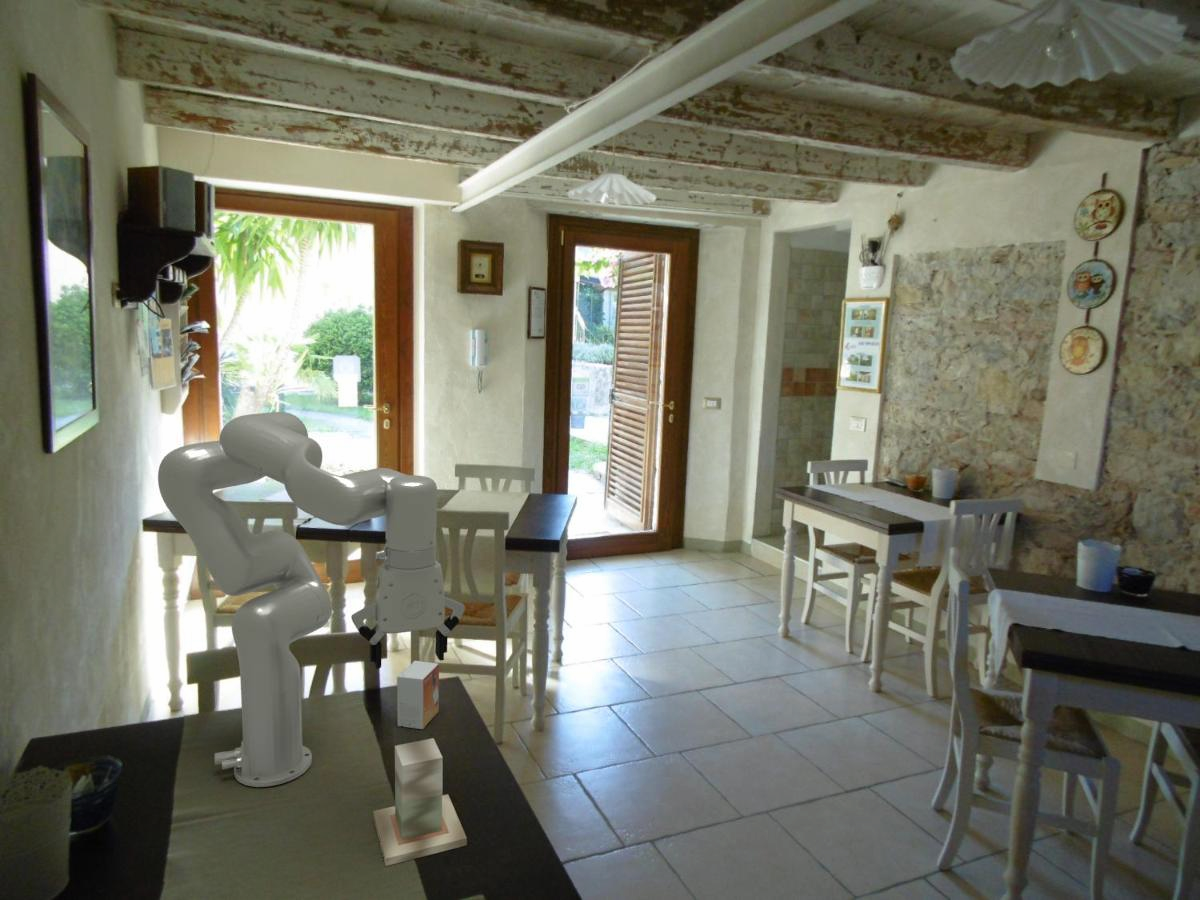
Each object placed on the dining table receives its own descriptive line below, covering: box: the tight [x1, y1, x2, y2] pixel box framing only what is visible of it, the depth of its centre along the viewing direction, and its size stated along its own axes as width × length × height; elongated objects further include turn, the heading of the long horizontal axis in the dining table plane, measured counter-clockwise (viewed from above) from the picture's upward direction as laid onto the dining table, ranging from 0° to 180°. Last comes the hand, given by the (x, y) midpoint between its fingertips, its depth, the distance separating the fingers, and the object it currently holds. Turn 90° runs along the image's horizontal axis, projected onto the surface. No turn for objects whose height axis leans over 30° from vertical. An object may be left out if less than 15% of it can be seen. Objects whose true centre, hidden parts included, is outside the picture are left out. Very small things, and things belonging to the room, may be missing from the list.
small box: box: [396, 660, 440, 730], centre depth 150 cm, size 8×6×10 cm
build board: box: [372, 793, 468, 867], centre depth 116 cm, size 12×12×1 cm
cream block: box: [394, 737, 444, 803], centre depth 115 cm, size 6×6×6 cm
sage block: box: [394, 782, 443, 840], centre depth 116 cm, size 6×6×6 cm
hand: (408, 661), depth 118 cm, fingers open, 9 cm apart
